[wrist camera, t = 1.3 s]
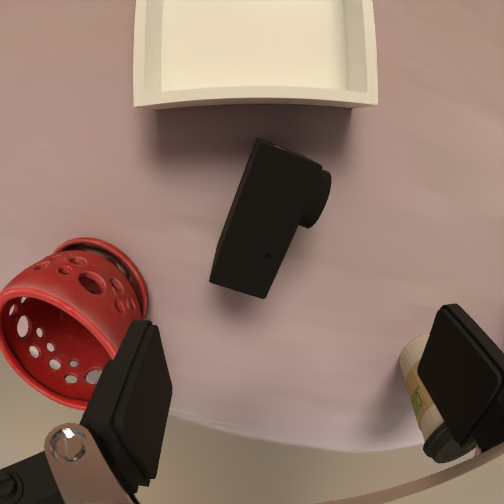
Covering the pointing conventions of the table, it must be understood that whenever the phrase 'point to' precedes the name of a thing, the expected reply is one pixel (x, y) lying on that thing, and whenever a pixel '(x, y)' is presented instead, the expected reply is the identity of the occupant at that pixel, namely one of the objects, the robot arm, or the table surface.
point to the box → (254, 53)
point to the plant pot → (71, 316)
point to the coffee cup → (428, 408)
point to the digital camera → (267, 217)
